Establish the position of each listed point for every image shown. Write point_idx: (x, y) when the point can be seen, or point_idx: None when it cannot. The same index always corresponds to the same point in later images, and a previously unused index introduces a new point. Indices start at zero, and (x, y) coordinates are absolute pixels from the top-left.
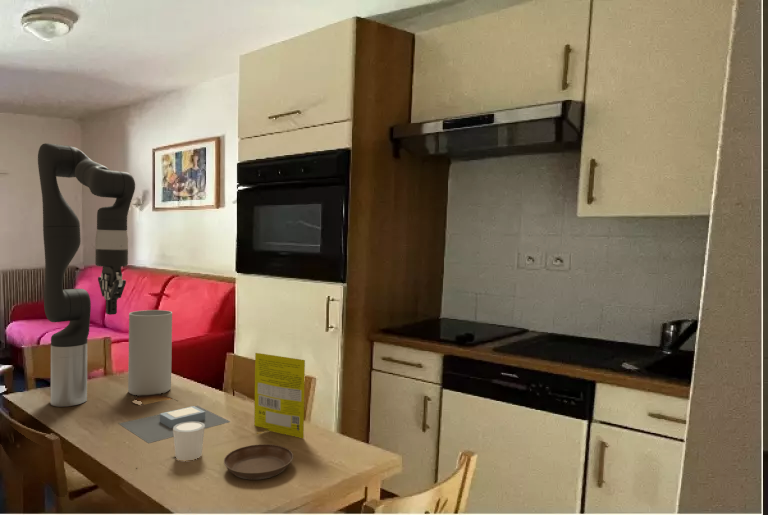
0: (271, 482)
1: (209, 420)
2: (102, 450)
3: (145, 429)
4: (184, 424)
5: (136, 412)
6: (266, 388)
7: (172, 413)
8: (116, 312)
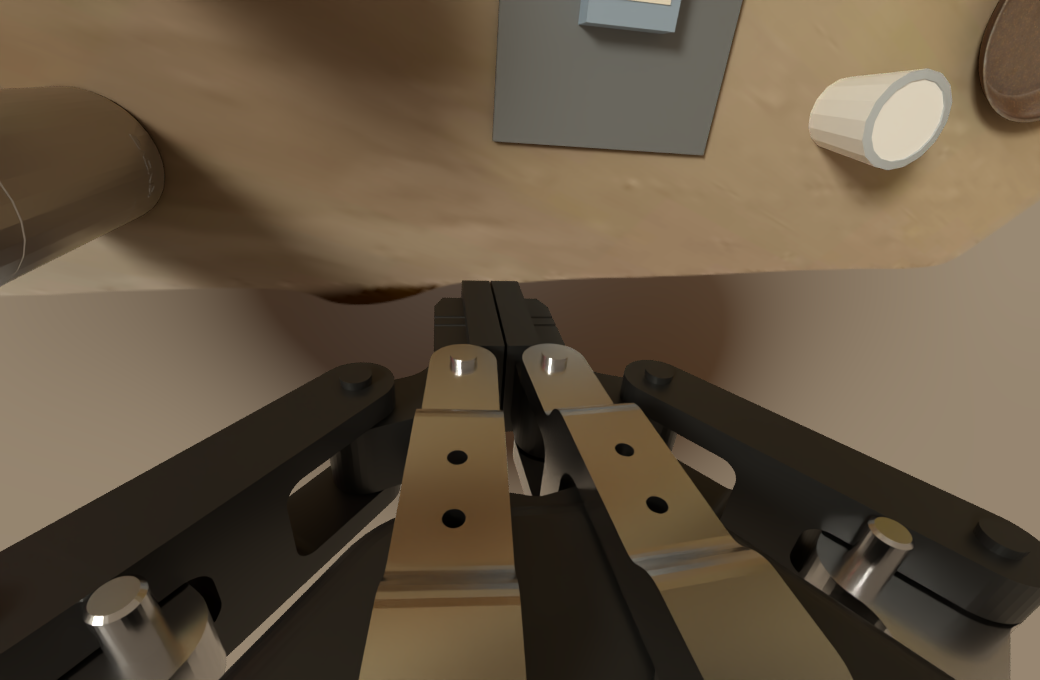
0: None
1: None
2: (632, 249)
3: (606, 104)
4: (883, 121)
5: (391, 15)
6: None
7: None
8: (517, 284)
